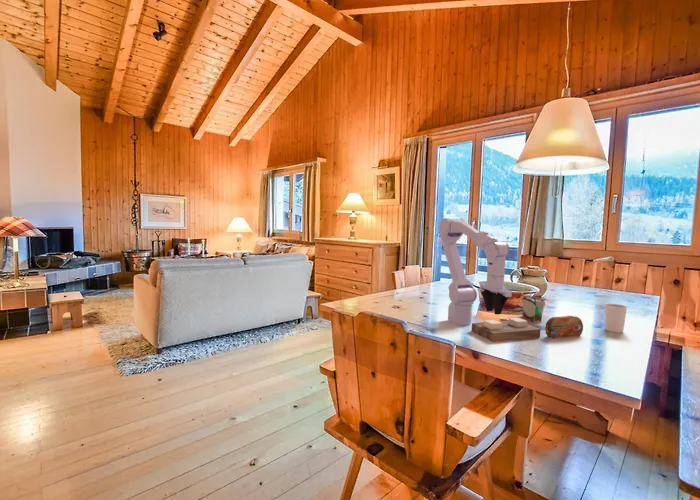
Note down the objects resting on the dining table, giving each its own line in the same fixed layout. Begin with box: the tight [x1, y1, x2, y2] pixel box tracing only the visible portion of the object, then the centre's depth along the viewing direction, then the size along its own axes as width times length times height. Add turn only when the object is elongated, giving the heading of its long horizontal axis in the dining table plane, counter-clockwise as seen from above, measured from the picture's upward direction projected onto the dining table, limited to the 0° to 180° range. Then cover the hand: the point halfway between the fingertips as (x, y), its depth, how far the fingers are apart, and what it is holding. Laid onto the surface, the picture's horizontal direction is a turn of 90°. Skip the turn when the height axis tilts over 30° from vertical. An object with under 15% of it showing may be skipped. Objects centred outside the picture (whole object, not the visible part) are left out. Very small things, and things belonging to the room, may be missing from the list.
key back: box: [508, 317, 528, 328], centre depth 129 cm, size 4×4×3 cm
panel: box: [471, 319, 542, 343], centre depth 128 cm, size 12×20×4 cm, turn 106°
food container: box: [521, 295, 546, 324], centre depth 147 cm, size 12×6×10 cm, turn 179°
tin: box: [544, 315, 584, 340], centre depth 126 cm, size 15×3×8 cm, turn 105°
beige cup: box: [604, 303, 628, 334], centre depth 137 cm, size 7×7×10 cm
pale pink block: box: [483, 319, 502, 330], centre depth 126 cm, size 4×4×3 cm
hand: (493, 312), depth 125 cm, fingers open, 4 cm apart
